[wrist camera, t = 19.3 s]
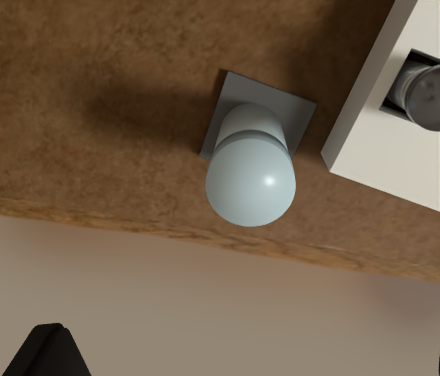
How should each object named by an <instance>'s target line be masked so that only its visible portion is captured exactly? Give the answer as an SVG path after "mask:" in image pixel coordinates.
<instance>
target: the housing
mask: <svg viewBox="0 0 440 376" xmlns="http://www.w3.org/2000/svg"><path fill="white" fill-rule="evenodd" d="M410 51H411V52H413V53H416V54H418V55H421V56H424V57H426V58H429V59H431V60H434V61H436V62H439V63H440V0H395V2H394V4H393V6H392V8H391V10H390V12H389V15H388V17H387V19H386V21H385V23H384V25H383V27H382V29H381V31H380V33H379V35H378V37H377V39H376V41H375V43H374V45H373V47H372V49H371V51H370V53H369V55H368V57H367V59H366V61H365V63H364V65H363V67H362V69H361V71H360V73H359V75H358V77H357V79H356V81H355V84H354V86H353V88H352V90H351V92H350V94H349V96H348V98H347V100H346V102H345V104H344V106H343V108H342V110H341V112H340V114H339V116H338V118H337V120H336V122H335V124H334V126H333V128H332V130H331V132H330V134H329V136H328V138H327V140H326V142H325V144H324V146H323V148H322V150H321V155H322V157H323V159H324V161H325V163H326V166H327V168H328V170H329V172H332V173H334V174H337V175H340V176H343V177H345V178H348V179H351V180H354V181H357V182H359V183H362V184H365V185H368V186H370V187H373V188H376V189H379V190H382V191H384V192H387V193H390V194H393V195H395V196H398V197H401V198H404V199H407V200H409V201H412V202H415V203H418V204H420V205H423V206H426V207H429V208H431V209H434V210H437V211H440V132H434V131H429V130H426V129H424V128H422V127H421V126H419V125H418V124H416V123H415V122H413V121H412V120H411V119H410V118H409V117H408V115H407V114H404V113H402V112H399V111H396V110H394V109H391V108H388V107H386V106H383V105H381V104H382V102H383V100H384V99H385V97H386V95H387V93H388V91H389V89H390V87H391V86H392V84H393V82H394V80H395V78H396V76H397V74H398V72H399V71H400V69H401V67H402V65H403V63H404V61H405V59H406V58H407V56H408V54H409V52H410Z"/></svg>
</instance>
